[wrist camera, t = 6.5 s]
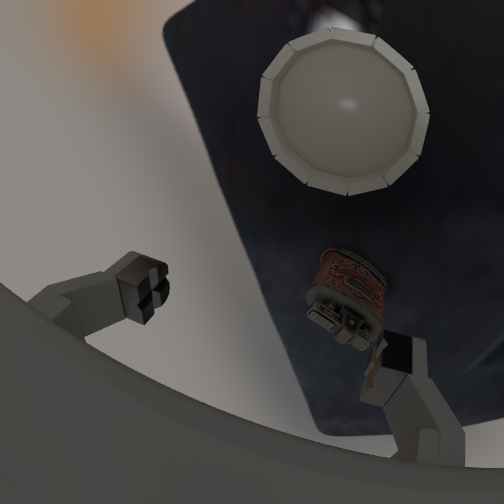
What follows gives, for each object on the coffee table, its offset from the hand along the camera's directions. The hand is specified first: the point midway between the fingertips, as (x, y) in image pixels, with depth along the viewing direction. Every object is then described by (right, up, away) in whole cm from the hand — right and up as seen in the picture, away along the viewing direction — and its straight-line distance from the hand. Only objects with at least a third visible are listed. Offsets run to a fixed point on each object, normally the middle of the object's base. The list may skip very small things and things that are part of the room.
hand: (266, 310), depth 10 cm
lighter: (+10, 0, +23) cm, 25 cm away
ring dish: (+8, +14, +15) cm, 22 cm away
